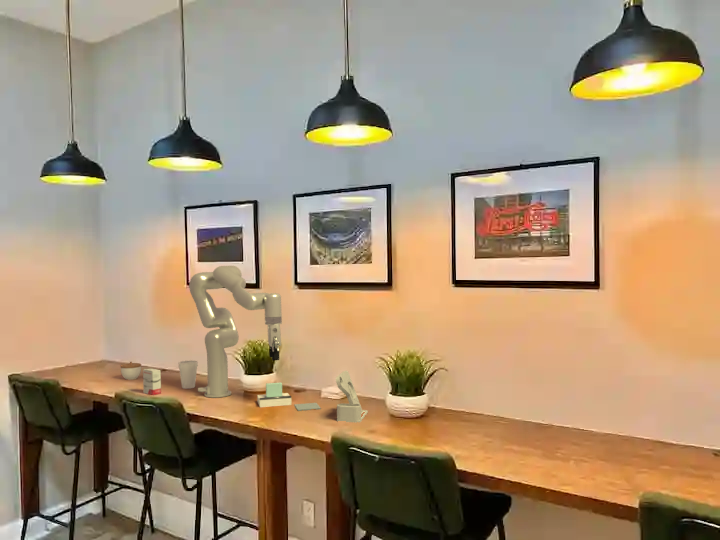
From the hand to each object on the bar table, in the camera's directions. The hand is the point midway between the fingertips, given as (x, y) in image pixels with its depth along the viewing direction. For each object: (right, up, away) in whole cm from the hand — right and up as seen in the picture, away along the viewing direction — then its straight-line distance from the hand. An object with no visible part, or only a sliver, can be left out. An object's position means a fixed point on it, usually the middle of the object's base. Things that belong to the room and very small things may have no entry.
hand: (274, 358), depth 271 cm
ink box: (-63, -21, +24) cm, 71 cm away
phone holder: (+36, -21, -24) cm, 48 cm away
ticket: (0, -20, +1) cm, 20 cm away
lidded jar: (-88, -20, +62) cm, 110 cm away
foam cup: (-49, -20, +37) cm, 65 cm away
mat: (+16, -20, -8) cm, 27 cm away
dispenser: (0, -20, +1) cm, 20 cm away
